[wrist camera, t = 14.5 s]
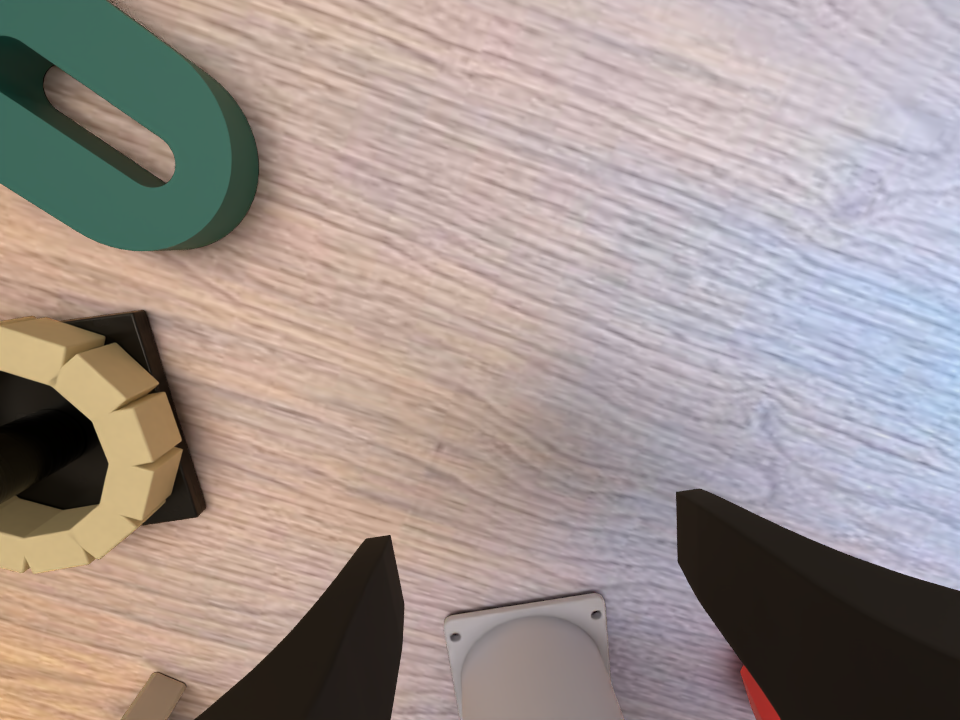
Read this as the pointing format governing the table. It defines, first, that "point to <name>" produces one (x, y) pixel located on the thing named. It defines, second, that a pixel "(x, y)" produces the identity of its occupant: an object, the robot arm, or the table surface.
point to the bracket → (141, 95)
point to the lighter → (155, 699)
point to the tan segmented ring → (121, 431)
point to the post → (80, 433)
